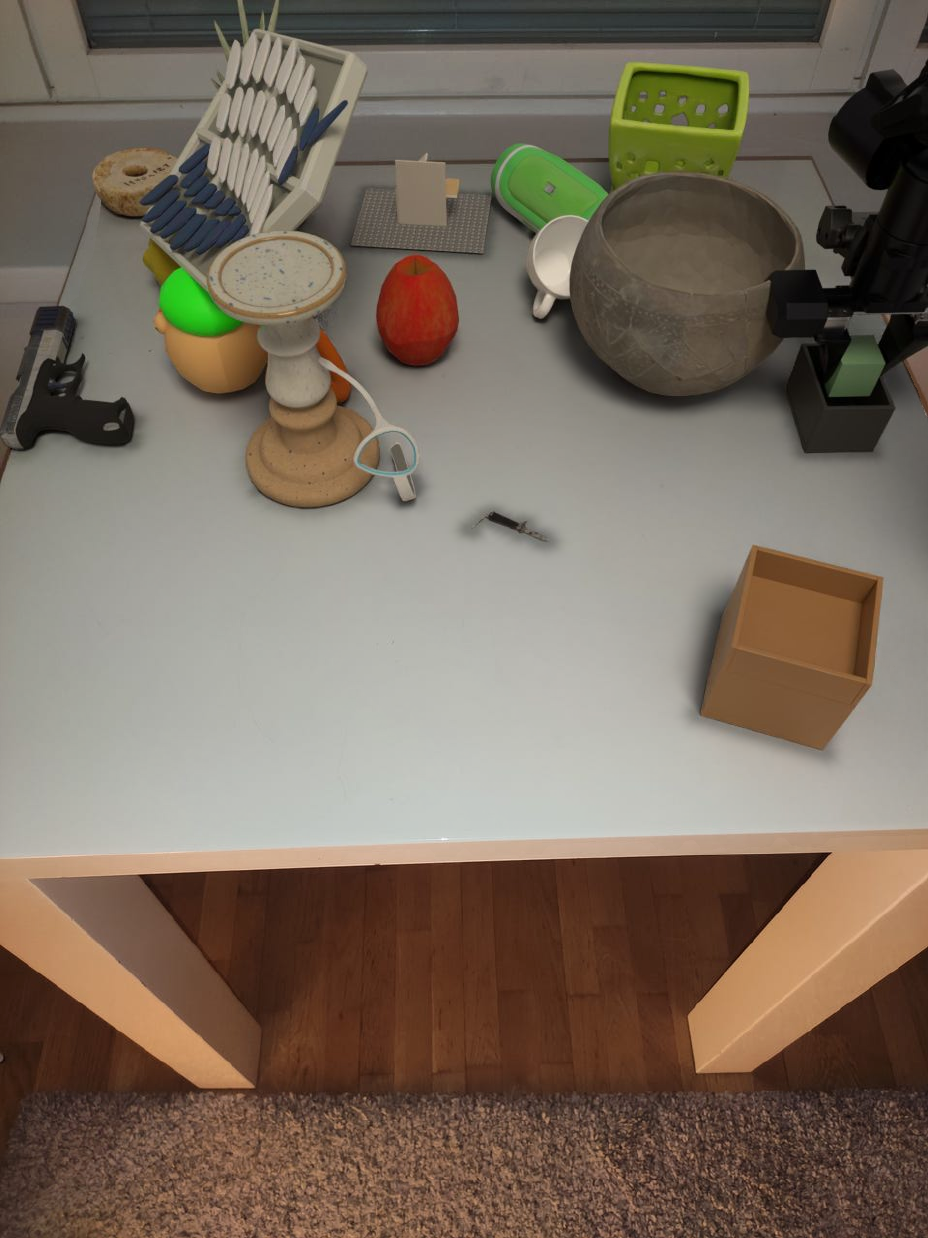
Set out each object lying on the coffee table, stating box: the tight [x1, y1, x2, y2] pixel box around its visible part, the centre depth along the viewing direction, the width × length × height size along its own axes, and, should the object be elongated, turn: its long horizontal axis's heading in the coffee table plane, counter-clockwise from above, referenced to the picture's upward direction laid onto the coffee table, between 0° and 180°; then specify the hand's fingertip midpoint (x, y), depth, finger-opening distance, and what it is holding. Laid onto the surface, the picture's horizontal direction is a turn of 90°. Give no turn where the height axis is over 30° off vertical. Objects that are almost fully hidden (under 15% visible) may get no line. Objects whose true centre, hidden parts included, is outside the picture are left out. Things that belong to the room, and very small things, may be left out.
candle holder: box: [207, 230, 381, 508], centre depth 76 cm, size 12×12×20 cm
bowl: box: [569, 171, 806, 397], centre depth 86 cm, size 21×21×15 cm
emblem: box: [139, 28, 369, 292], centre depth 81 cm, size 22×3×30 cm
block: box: [819, 334, 885, 397], centre depth 82 cm, size 4×4×4 cm
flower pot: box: [607, 61, 750, 194], centre depth 101 cm, size 14×14×13 cm
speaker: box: [490, 142, 610, 234], centre depth 101 cm, size 18×7×8 cm
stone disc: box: [91, 147, 178, 217], centre depth 107 cm, size 10×4×10 cm
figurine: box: [153, 267, 268, 395], centre depth 86 cm, size 11×10×12 cm
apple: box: [375, 254, 460, 367], centre depth 88 cm, size 8×8×11 cm
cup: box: [526, 215, 588, 320], centre depth 95 cm, size 8×10×7 cm
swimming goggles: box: [318, 357, 421, 502], centre depth 78 cm, size 14×8×6 cm
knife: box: [471, 510, 550, 541], centre depth 80 cm, size 6×1×3 cm
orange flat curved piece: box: [255, 324, 352, 403], centre depth 84 cm, size 10×2×15 cm
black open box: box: [784, 342, 897, 454], centre depth 85 cm, size 9×6×6 cm
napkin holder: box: [393, 152, 461, 226], centre depth 103 cm, size 3×7×7 cm, turn 84°
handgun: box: [0, 305, 135, 451], centre depth 90 cm, size 3×19×12 cm
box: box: [699, 544, 884, 751], centre depth 67 cm, size 9×9×10 cm
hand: (845, 379), depth 83 cm, fingers closed on block, 4 cm apart
